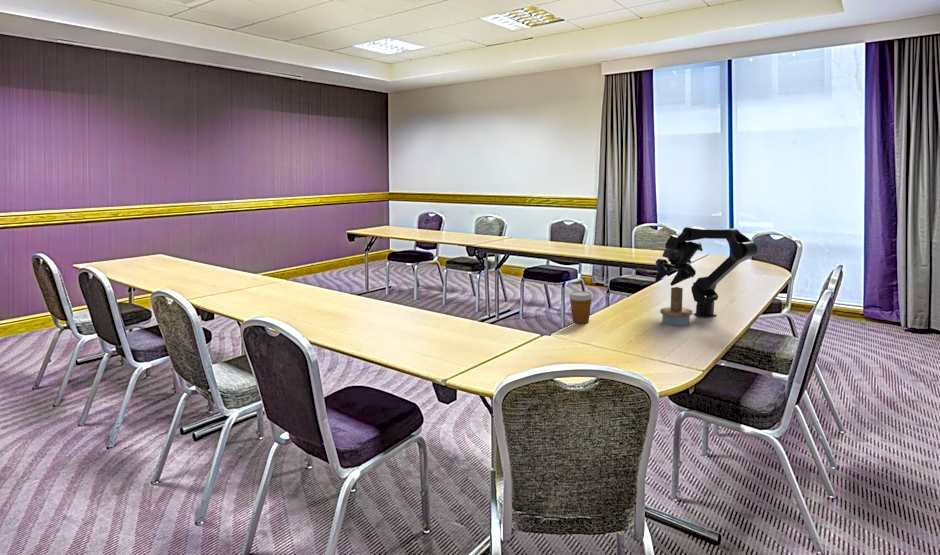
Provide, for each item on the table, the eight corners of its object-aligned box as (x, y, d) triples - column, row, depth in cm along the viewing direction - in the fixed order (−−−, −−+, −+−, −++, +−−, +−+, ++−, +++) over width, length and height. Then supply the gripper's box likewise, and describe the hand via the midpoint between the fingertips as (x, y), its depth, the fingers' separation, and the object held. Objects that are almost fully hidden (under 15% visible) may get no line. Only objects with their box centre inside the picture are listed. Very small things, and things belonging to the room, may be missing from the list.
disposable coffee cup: (592, 325, 237) (592, 295, 235) (568, 324, 239) (568, 295, 237) (592, 319, 247) (592, 291, 244) (569, 319, 248) (569, 290, 246)
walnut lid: (677, 307, 245) (678, 284, 243) (699, 314, 234) (700, 289, 232) (653, 311, 240) (654, 287, 238) (674, 317, 229) (675, 292, 228)
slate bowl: (676, 318, 244) (677, 308, 243) (694, 323, 235) (695, 313, 234) (657, 321, 240) (657, 311, 240) (674, 327, 231) (674, 317, 231)
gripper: (659, 239, 255) (637, 267, 253) (691, 244, 238) (668, 274, 236) (673, 256, 259) (652, 284, 257) (705, 262, 242) (683, 291, 240)
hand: (663, 283), depth 248 cm, fingers open, 9 cm apart
